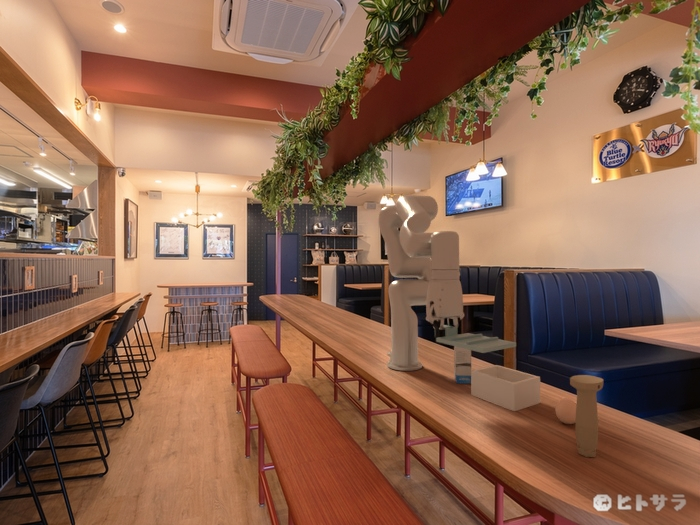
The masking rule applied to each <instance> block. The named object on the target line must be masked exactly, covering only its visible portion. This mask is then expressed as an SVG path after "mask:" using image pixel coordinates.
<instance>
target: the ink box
mask: <svg viewBox="0 0 700 525" xmlns="http://www.w3.org/2000/svg"><path fill="white" fill-rule="evenodd" d="M453 355H454V356H453V357H454V358H453V360H454V361H453V362H454V364H453V365H454V369H453V371H454V379H455V381H456V384H465V385H471V371H472V350H469V349H464V348H460V347H456V346H453Z"/></svg>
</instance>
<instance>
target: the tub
mask: <svg viewBox="0 0 700 525" xmlns="http://www.w3.org/2000/svg"><path fill="white" fill-rule="evenodd" d="M471 370H472V369H471ZM470 385H471V386H470V396H472V397H476V398H479V399H481V400H483V401H486V402H489V403H490V404H494V405H497V406H499V407H501V408H505V409H507V410H510V411H512V412H517V411H520V410H523V409H526V408H528V407H533V406H535V405H539V404H541V376H538V375H534V374H530V373H527V372H525V371H524V372H523V371H520V370H516V369H513V368H509V367H505V366H502V365H498V364H495V365H490V366H486V367H481V368H477V369H473V370H472V371H471V384H470Z"/></svg>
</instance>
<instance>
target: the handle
mask: <svg viewBox="0 0 700 525" xmlns="http://www.w3.org/2000/svg"><path fill="white" fill-rule="evenodd" d="M569 384H570V386H571V387H573V388H574V389H576V404H577V405H576V420H575V423H574V425H575V426H574V427H575V440H576V444H577V453H578V454H579V455H581V456H583V457H585V458H589V457H590V458H595V457H596V455H597V448H598V443H599V442H598V441H599V418H598V417H599V416H598V399H597V392H600V391H601V390H602V389H603V387H604V378H602V377H598V376H594V375H589V374H578V375H572V376H570V377H569Z"/></svg>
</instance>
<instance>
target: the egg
mask: <svg viewBox="0 0 700 525" xmlns="http://www.w3.org/2000/svg"><path fill="white" fill-rule="evenodd" d="M576 405H577V402H575V401H574V400H572V399H571V398H568V397H565V398H561V399H560V400H559V401H558V402H557V403H556V405H555V415H556V417H557V419H559V421H561V422H562V423H563V424H566V425H572V424H573V425H575V420H576Z"/></svg>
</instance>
